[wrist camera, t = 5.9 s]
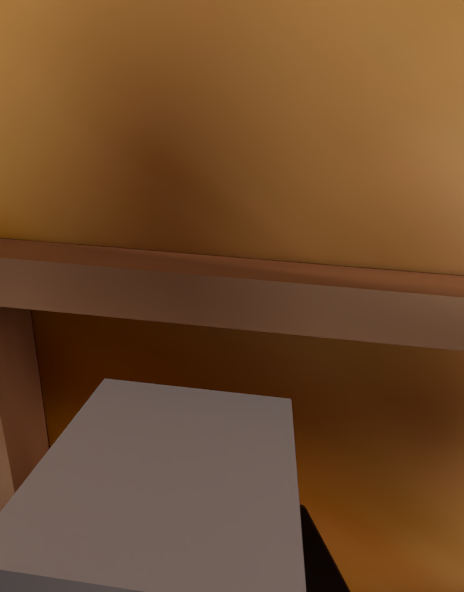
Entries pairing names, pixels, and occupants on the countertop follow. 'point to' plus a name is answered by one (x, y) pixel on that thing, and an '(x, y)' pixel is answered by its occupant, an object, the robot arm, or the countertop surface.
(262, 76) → the countertop surface
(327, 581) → the robot arm
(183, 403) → the block
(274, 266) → the tray frame
